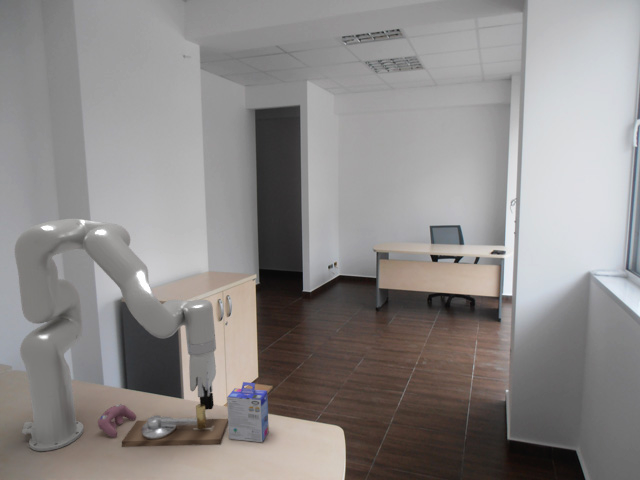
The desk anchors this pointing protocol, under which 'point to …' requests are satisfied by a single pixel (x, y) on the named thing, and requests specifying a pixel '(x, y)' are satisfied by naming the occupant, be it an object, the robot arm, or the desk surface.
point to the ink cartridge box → (248, 414)
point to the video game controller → (116, 414)
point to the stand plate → (180, 435)
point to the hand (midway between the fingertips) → (207, 407)
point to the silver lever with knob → (172, 424)
